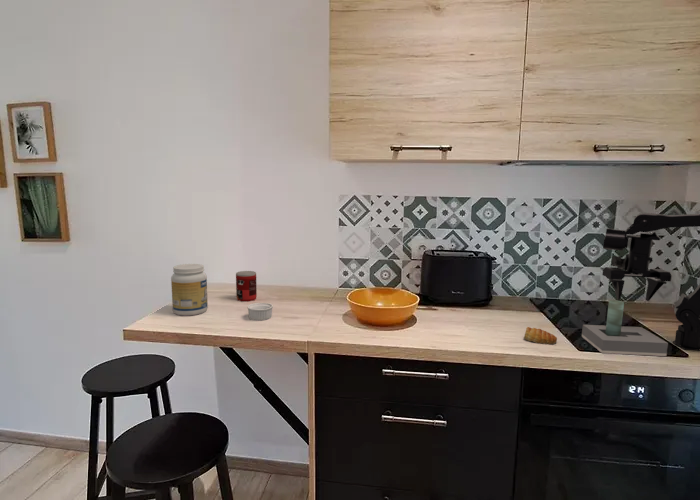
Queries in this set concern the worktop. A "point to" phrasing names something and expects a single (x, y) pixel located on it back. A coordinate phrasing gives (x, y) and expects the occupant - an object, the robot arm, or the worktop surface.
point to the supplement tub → (189, 289)
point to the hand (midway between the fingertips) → (632, 300)
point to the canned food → (246, 286)
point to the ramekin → (260, 311)
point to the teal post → (614, 318)
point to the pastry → (539, 336)
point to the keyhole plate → (625, 341)
